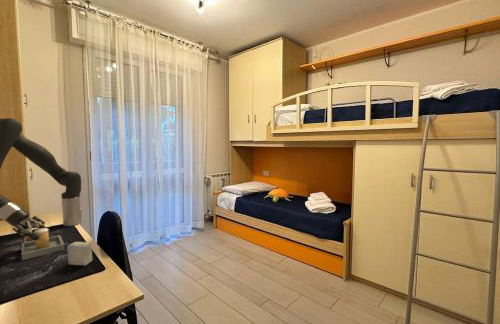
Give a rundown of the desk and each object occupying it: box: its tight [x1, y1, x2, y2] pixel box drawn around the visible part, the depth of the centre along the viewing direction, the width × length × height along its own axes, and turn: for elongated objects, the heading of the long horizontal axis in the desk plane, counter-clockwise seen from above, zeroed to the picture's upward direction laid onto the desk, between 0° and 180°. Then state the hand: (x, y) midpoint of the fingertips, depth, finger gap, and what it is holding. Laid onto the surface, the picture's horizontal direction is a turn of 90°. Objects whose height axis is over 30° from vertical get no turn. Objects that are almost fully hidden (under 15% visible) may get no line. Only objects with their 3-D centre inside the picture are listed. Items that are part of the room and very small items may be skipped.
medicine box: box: [66, 241, 93, 266], centre depth 105 cm, size 8×4×9 cm, turn 84°
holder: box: [23, 236, 35, 243], centre depth 126 cm, size 9×9×2 cm
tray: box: [20, 234, 65, 261], centre depth 117 cm, size 15×15×3 cm
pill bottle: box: [34, 227, 50, 250], centre depth 117 cm, size 5×5×9 cm
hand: (43, 235), depth 117 cm, fingers open, 8 cm apart
